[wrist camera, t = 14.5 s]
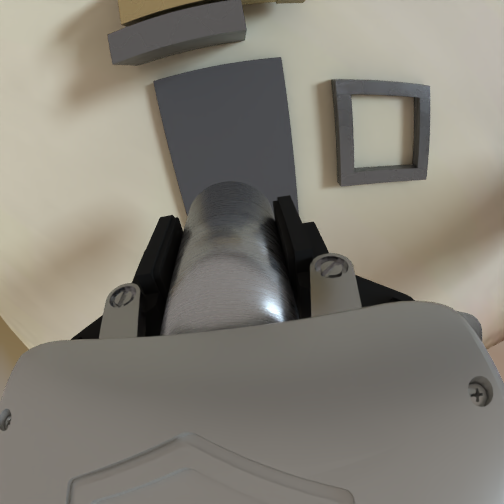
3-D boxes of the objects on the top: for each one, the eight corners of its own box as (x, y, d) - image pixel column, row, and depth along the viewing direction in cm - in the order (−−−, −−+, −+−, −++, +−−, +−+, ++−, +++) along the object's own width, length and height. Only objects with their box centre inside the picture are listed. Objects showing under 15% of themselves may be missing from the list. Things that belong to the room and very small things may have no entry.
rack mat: (279, 57, 14) (281, 57, 14) (300, 251, 23) (301, 255, 23) (155, 81, 15) (153, 81, 14) (204, 265, 23) (203, 269, 23)
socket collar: (423, 84, 15) (429, 86, 14) (421, 175, 19) (426, 179, 18) (331, 79, 15) (335, 79, 14) (337, 182, 19) (341, 186, 19)
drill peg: (265, 172, 12) (316, 361, 5) (279, 246, 14) (317, 424, 7) (177, 193, 12) (115, 381, 5) (202, 262, 14) (187, 438, 7)
